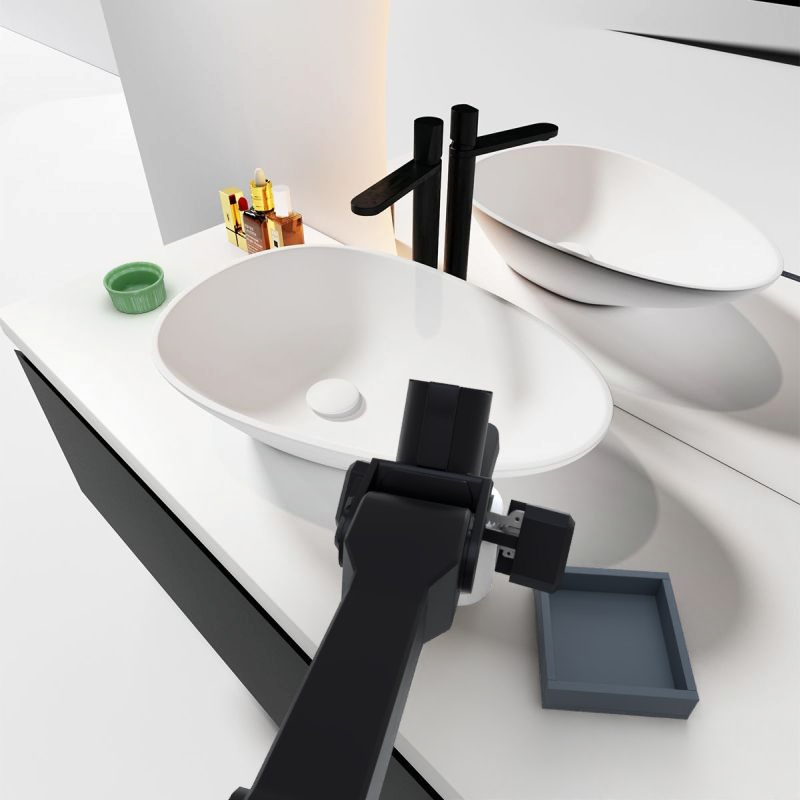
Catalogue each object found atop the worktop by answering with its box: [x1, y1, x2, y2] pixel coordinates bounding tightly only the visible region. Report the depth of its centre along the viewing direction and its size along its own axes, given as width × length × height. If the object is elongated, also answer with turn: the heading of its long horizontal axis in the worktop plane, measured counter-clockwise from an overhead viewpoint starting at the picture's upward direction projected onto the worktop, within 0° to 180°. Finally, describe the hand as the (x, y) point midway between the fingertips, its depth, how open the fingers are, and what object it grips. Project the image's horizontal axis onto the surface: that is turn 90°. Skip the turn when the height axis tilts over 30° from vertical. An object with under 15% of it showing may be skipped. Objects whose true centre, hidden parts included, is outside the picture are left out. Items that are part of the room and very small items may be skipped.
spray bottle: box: [457, 486, 505, 607], centre depth 62 cm, size 7×7×18 cm
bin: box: [533, 565, 700, 720], centre depth 65 cm, size 13×13×4 cm
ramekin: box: [102, 261, 167, 314], centre depth 109 cm, size 9×9×4 cm
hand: (467, 516), depth 64 cm, fingers closed on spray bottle, 7 cm apart
